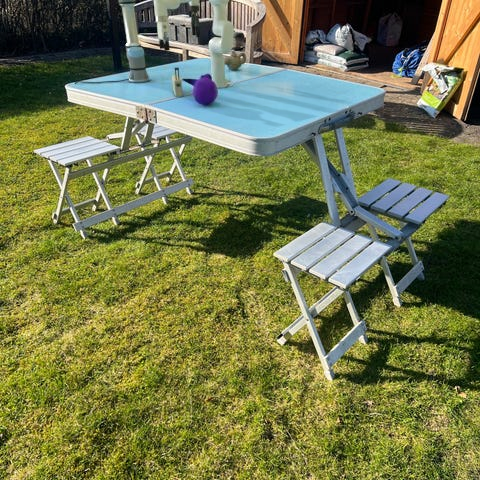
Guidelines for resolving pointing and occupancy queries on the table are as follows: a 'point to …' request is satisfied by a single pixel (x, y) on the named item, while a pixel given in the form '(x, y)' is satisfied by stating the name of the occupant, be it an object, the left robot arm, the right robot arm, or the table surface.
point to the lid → (176, 76)
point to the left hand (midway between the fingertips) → (196, 36)
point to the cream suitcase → (177, 88)
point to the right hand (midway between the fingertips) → (164, 49)
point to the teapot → (235, 60)
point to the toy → (204, 89)
